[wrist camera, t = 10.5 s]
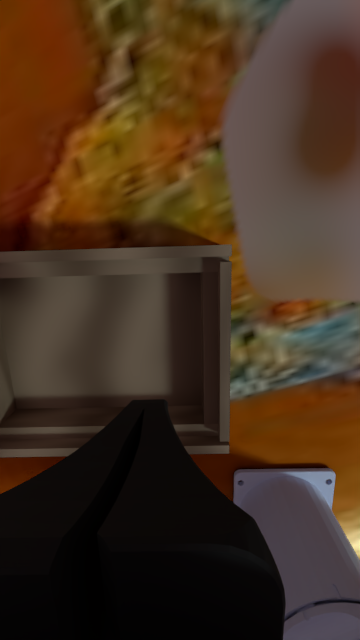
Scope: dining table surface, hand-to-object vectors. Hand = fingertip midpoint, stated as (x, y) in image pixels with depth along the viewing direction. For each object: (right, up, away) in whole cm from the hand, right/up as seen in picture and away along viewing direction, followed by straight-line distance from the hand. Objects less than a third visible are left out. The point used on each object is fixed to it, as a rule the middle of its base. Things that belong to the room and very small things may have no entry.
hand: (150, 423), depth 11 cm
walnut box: (-4, +2, +10) cm, 11 cm away
